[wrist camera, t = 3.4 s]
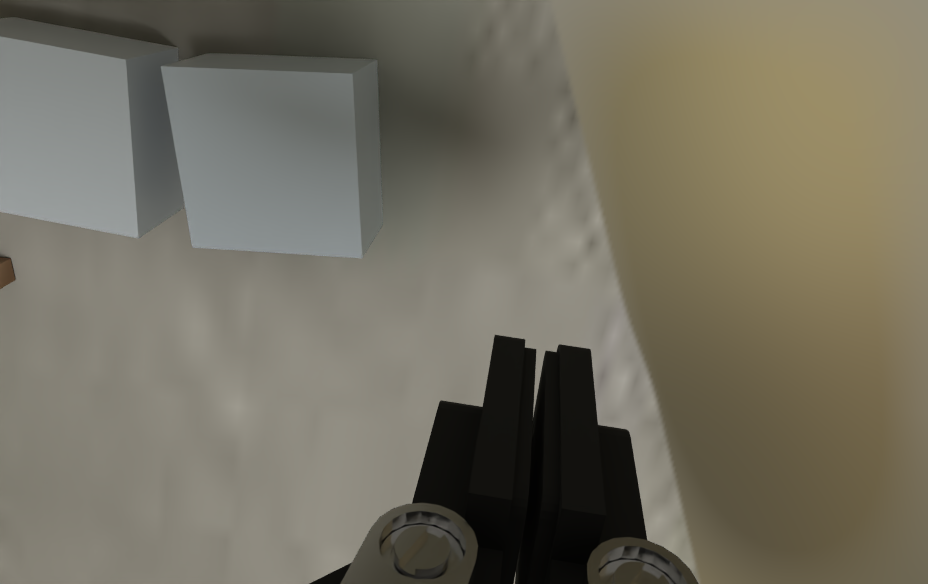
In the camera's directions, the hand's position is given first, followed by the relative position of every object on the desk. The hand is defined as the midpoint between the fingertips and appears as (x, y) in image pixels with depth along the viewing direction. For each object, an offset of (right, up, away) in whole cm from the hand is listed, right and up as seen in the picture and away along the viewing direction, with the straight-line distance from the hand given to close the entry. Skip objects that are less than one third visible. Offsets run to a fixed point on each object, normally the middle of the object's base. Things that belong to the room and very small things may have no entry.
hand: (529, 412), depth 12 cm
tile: (-15, +9, +13) cm, 22 cm away
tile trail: (-7, +8, +13) cm, 17 cm away
